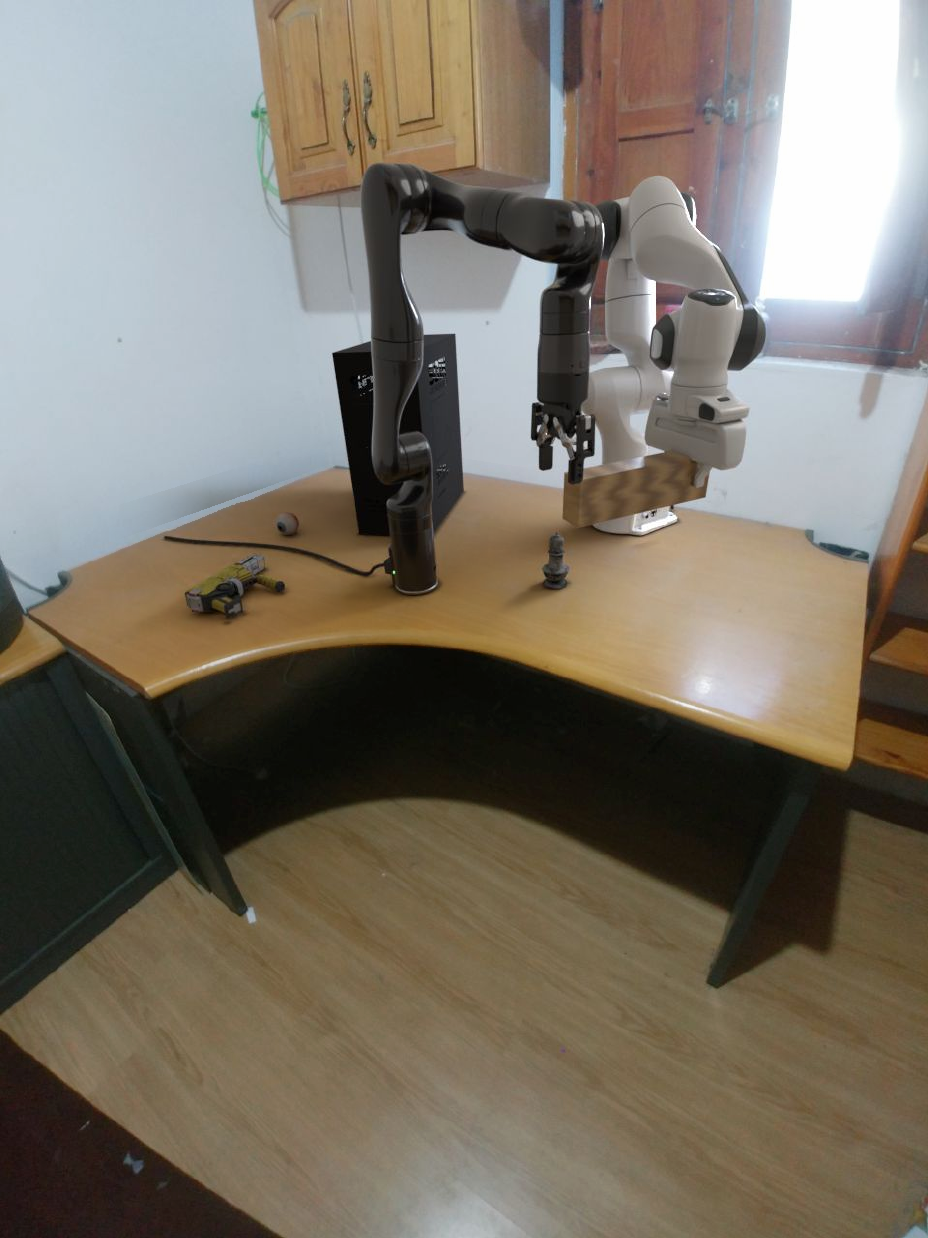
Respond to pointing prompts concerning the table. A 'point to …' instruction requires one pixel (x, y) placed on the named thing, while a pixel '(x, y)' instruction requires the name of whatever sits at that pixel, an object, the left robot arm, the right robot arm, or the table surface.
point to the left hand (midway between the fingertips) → (559, 476)
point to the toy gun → (230, 587)
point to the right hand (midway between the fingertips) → (684, 481)
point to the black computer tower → (402, 429)
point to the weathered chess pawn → (555, 564)
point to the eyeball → (287, 523)
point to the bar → (630, 488)
